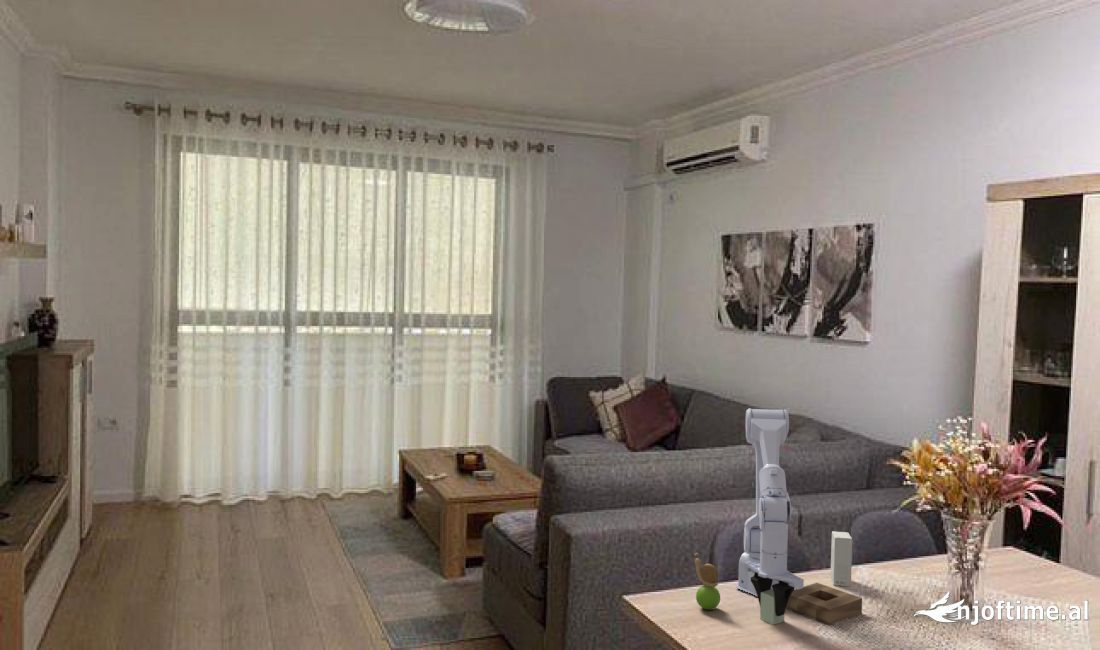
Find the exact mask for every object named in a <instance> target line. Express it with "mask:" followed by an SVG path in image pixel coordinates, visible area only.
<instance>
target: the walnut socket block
mask: <svg viewBox="0 0 1100 650" xmlns="http://www.w3.org/2000/svg"><path fill="white" fill-rule="evenodd" d="M785 610H789V611H791V612H794V613H797V614H799V615H802V616H803V617H806V618H809V619H812V620H815V621H817V622H819V623H823V624H825V625H827V626H832V625H835V624H837V623H839V622H843V621H845V620H848V619H850V618H854V617H856V616H859V615H861V614H863V597H860V596H858V595H854V594H851V593H848V592H846V591H843V590H840V589H837V588H834V587H831V586H828V585H825V584H822V583H819V582H815V583H811V584H808V585H804V586H803V588H802V589H798V590H797V589H794V591H793V592H792V594H791V596H790V598H789V600H788V603H787V606H786V609H785Z"/></svg>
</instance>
